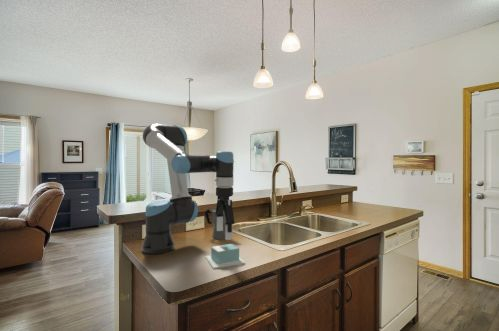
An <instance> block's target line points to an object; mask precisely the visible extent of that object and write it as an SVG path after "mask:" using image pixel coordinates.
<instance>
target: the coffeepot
mask: <svg viewBox="0 0 499 331" xmlns="http://www.w3.org/2000/svg"><path fill="white" fill-rule="evenodd" d="M215 212H216V209H209V208H208V209H206V211H205V212H204V216H205V218H206V221H207V224H210V225H211V224H212V221H213V228H212V234H211V237H212V239H215V240H224V239H225V232H226V225H225V223H226V219H225V214H224V211H223V231H217V217H218V216H216V214H215ZM209 214H211V215H212V219H213V220H212V221H210V216H209ZM221 217H222V216H221Z"/></svg>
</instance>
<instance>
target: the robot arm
mask: <svg viewBox="0 0 499 331" xmlns="http://www.w3.org/2000/svg"><path fill="white" fill-rule="evenodd" d="M142 140H143V143H145V145H146V146H148V147H149V148H151V149H155V150H156V151H157V152H158V153H159V154H161V156H163V157H164V158H165V159H166V161H167V170H168V176H169V178H168V179H169V185H170V192H171V198H169V200H168V199H165V200H164V199H163V200H156V201H153V202H150V203H148V204H147V205H145V206H146V207H145V212H144V216H145V236H144V240H143V242H142V245H141V252H142V253H144V254H147V255H158V254H159V255H160V254H164V253H169V252H170V251H172V250H174V249H175V242H174V238H173V236H172V232H171V226H177V225H181V224H187V223H190V222H193V221H195V220H196V219H197V216H198V214H199V206H198V203H197V201H196V200H195V199H193V196H192V195H191V194H190V193H189V188H188V181H187V175H186V174H191V173H192V174H197V173H215V179H214V182H215V186H216V188H215V195H216V197H217V199H216V200H217V201H216V206H215V210H216V212H215V214H216V216H218V217H217V231H223V211H224V214H225V219H226V223H225V225H226V232H225V238H224V239H225V241H231V240H233V225H235V217H234V210H233V200H232V199H230V197H233V195H234V163H235V161H234V152H232V151H216V153H215V155H190V154H189V153H188V152H186V151H184V149H185V147H186V146H187V143H188V135H187V131H186V129H184V128H183V127H181V126H179V125H174V124H173V125H171V124H160V123H153V124H150V125H148V126H147V127H146V128H145V129H144V130H143V132H142ZM221 216H222V217H221Z"/></svg>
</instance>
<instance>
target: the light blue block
mask: <svg viewBox="0 0 499 331" xmlns="http://www.w3.org/2000/svg"><path fill="white" fill-rule="evenodd" d="M210 253H211V254H210V255H211V259H212V260H214V261H215V262H216V263H217V264H222V263H226V262H231V261H235V260H239V257H240V248H239V247H238V246H236V245H235V244H233V243H228V244H227V243H226V244H222V245H216V246H215V245H214V246H211V248H210Z"/></svg>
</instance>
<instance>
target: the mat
mask: <svg viewBox="0 0 499 331" xmlns="http://www.w3.org/2000/svg"><path fill="white" fill-rule="evenodd" d="M205 259H206V260H207V262H208V263H209V266H210V267H211V268H212V269H213V270H216V269H221V268H229V267H234V266H235V267H236V266H240V265H241V266H242V265H246V261H244V260H243V258H241V257H240V256H239V260H235V261H231V262H226V263H222V264H217V263H216V262H215V261H214V260H212V259H211V254H209V255H205Z"/></svg>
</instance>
